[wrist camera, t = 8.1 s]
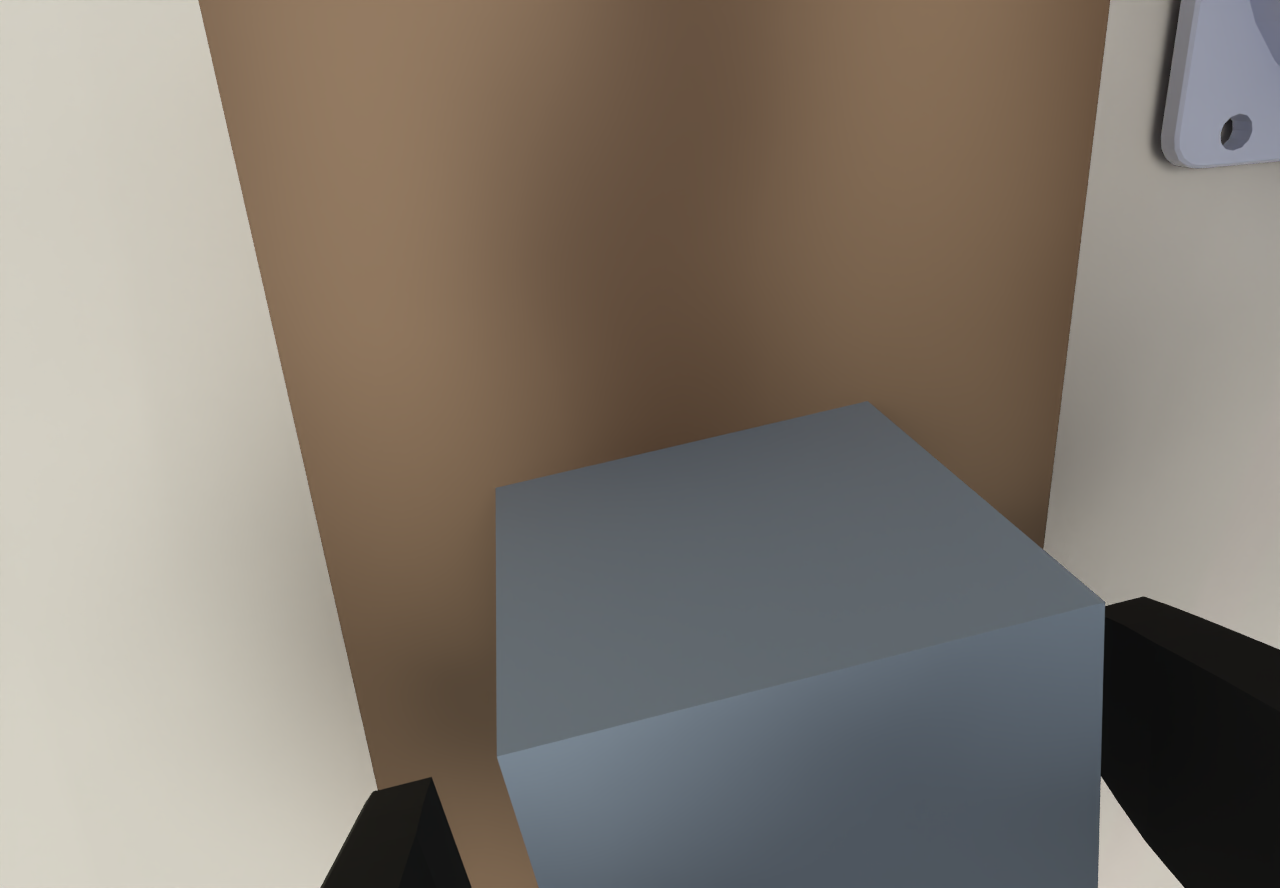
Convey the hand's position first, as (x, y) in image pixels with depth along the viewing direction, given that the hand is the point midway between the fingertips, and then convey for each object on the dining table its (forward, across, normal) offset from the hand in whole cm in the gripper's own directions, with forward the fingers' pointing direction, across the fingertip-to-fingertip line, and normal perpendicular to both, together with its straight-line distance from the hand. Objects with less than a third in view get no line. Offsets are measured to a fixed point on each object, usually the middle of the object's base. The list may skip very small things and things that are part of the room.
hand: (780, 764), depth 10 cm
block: (+3, 0, 0) cm, 3 cm away
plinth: (+6, 0, 0) cm, 6 cm away
